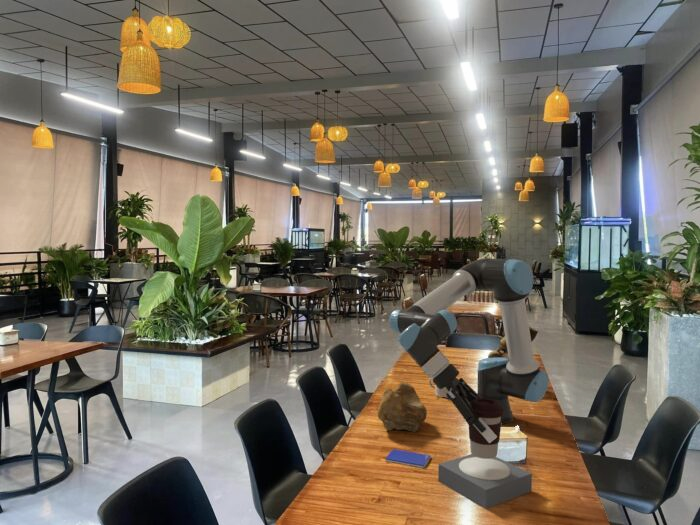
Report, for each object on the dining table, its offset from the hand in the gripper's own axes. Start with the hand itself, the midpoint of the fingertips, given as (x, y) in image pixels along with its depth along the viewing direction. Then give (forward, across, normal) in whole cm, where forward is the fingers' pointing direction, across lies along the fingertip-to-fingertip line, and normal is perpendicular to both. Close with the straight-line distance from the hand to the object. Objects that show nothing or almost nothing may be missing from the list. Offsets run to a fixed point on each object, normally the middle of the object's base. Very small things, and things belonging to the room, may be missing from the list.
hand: (495, 433), depth 146 cm
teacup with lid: (-12, -80, -34) cm, 88 cm away
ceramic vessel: (+8, -102, -14) cm, 104 cm away
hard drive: (-8, -9, -31) cm, 33 cm away
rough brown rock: (-15, -36, -37) cm, 53 cm away
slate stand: (+9, 0, -13) cm, 16 cm away
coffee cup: (+2, 0, -7) cm, 7 cm away
